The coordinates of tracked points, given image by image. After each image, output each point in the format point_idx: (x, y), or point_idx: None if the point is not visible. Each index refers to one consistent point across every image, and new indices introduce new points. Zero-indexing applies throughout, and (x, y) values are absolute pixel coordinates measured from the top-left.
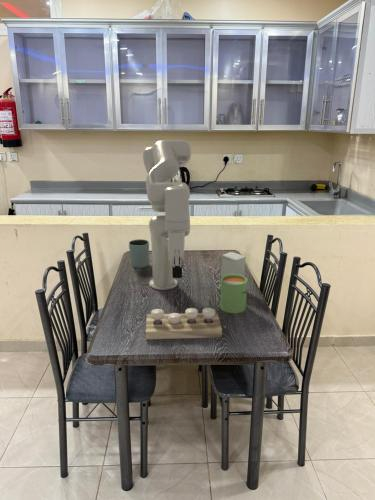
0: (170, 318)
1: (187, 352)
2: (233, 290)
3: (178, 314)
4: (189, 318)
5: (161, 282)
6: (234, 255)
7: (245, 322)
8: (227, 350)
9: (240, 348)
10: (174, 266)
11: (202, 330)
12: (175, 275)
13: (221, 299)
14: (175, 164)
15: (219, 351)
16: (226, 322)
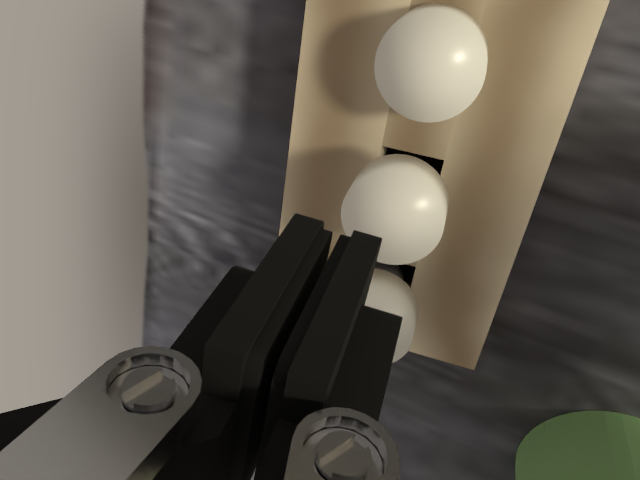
0: (396, 21)
1: (164, 60)
2: None
3: (445, 107)
4: (358, 173)
5: None
6: None
7: (402, 439)
8: (170, 261)
9: (182, 317)
10: (104, 391)
11: (282, 210)
12: (233, 275)
13: (619, 466)
14: None
15: (165, 224)
16: (431, 366)
